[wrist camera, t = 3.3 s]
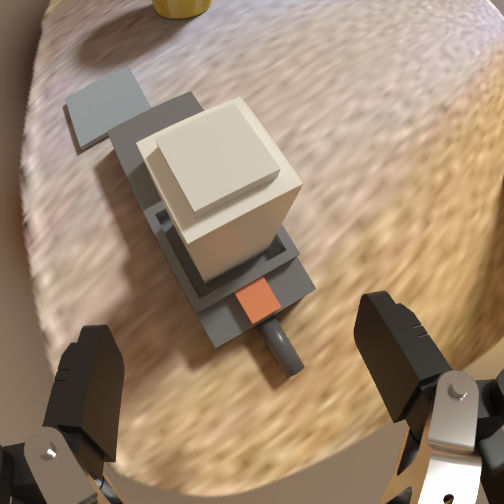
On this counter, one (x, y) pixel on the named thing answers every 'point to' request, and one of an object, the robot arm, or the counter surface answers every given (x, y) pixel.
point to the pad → (105, 106)
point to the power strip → (233, 282)
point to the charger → (221, 185)
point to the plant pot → (180, 8)
